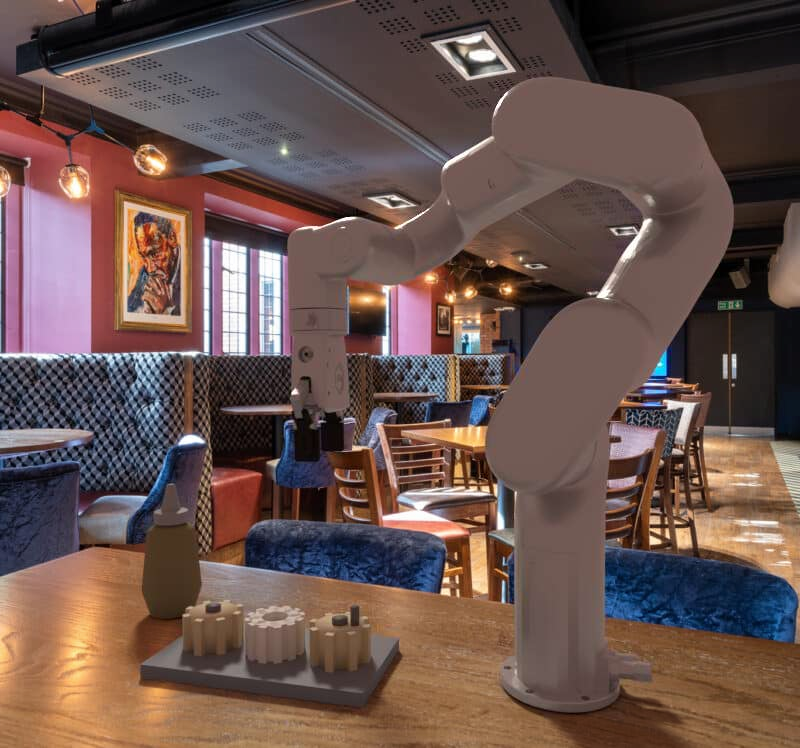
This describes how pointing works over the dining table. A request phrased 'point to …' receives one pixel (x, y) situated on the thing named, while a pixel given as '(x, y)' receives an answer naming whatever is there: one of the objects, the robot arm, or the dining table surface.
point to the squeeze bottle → (171, 560)
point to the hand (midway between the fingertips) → (320, 456)
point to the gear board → (299, 678)
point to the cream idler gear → (274, 634)
